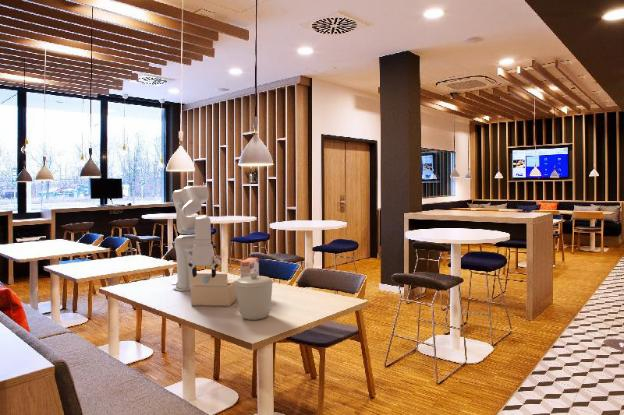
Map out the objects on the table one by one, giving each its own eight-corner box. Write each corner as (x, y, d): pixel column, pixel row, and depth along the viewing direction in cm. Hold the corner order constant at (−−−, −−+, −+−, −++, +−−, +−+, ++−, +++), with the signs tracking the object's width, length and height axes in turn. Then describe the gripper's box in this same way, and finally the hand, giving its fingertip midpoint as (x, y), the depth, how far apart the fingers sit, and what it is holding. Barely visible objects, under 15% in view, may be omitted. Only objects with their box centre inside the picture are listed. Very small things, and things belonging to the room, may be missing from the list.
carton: (191, 305, 229) (190, 285, 228) (201, 299, 242) (201, 279, 241) (229, 306, 226) (228, 285, 225) (237, 299, 238) (236, 280, 238)
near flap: (191, 285, 229) (186, 288, 223) (190, 273, 228) (185, 276, 222) (227, 285, 225) (223, 289, 220) (227, 273, 224) (222, 277, 219)
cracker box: (251, 301, 234) (250, 261, 233) (240, 301, 235) (239, 261, 234) (260, 294, 248) (258, 257, 246) (249, 294, 249) (248, 257, 248)
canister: (274, 322, 200) (273, 274, 198) (233, 324, 198) (231, 276, 197) (274, 310, 218) (273, 267, 216) (237, 312, 216) (235, 268, 215)
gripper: (183, 243, 218) (184, 278, 219) (217, 244, 215) (218, 279, 217) (189, 240, 225) (190, 274, 227) (222, 241, 222) (223, 275, 224)
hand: (204, 276), depth 222 cm, fingers open, 9 cm apart
